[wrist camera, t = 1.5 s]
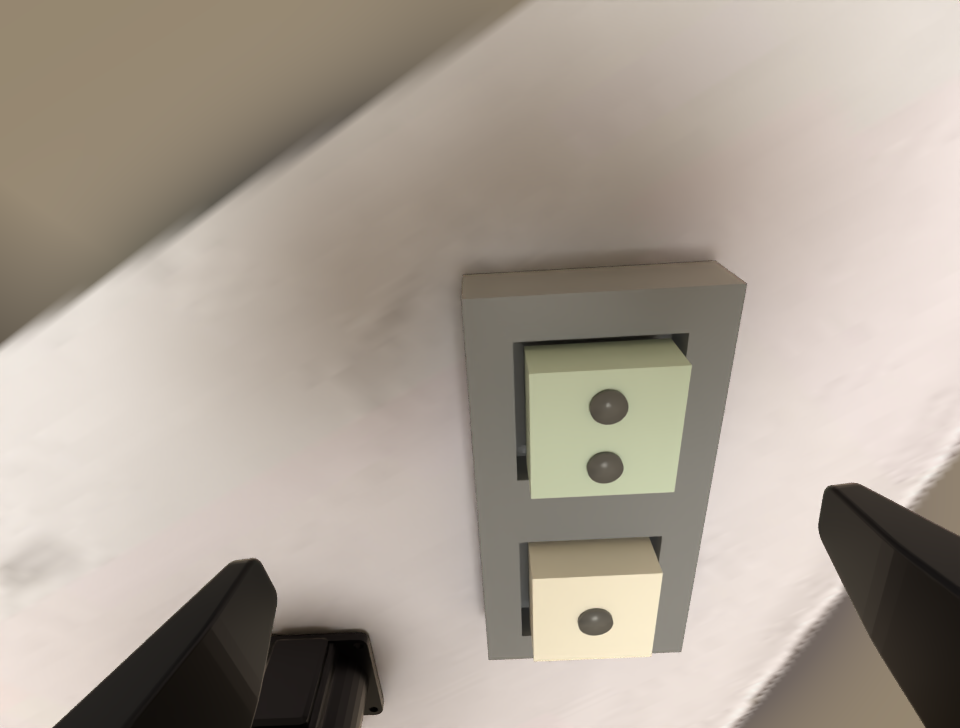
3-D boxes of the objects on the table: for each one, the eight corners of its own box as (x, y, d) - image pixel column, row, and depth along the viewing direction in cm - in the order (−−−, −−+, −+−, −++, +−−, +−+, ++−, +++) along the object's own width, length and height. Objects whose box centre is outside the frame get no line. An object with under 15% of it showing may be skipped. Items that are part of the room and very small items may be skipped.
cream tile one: (638, 615, 25) (652, 661, 23) (529, 620, 25) (534, 665, 23) (648, 534, 22) (664, 577, 20) (528, 540, 23) (533, 583, 21)
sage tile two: (657, 457, 21) (676, 495, 19) (526, 463, 21) (531, 502, 19) (671, 338, 18) (694, 368, 16) (523, 346, 18) (529, 376, 16)
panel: (664, 606, 27) (681, 651, 25) (487, 613, 28) (488, 660, 25) (715, 260, 19) (747, 283, 17) (462, 274, 19) (461, 299, 17)
